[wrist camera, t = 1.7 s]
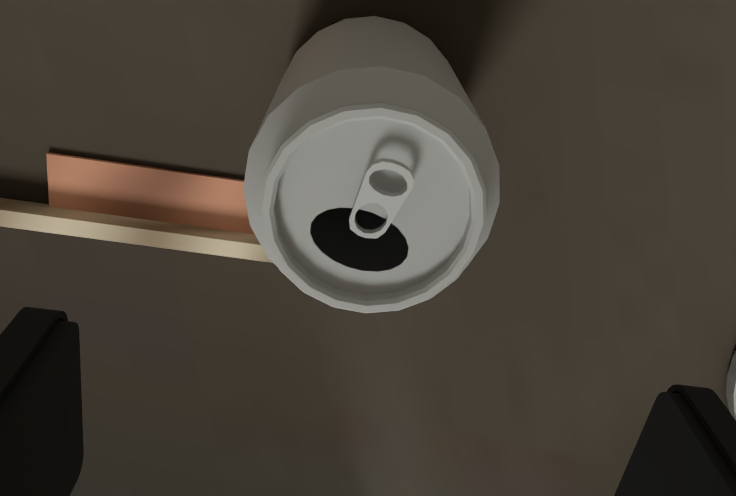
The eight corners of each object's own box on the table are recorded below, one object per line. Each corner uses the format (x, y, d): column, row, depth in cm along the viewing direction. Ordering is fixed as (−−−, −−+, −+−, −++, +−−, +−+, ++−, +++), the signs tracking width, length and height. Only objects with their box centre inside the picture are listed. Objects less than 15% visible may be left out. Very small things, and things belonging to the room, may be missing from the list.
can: (257, 152, 30) (200, 288, 19) (315, -18, 27) (285, 33, 16) (414, 209, 31) (442, 367, 21) (486, 54, 28) (563, 144, 18)
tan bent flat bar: (515, -69, 26) (536, -66, 23) (437, 272, 33) (445, 311, 30) (-170, -189, 24) (-249, -204, 21) (-108, 198, 31) (-161, 231, 28)
